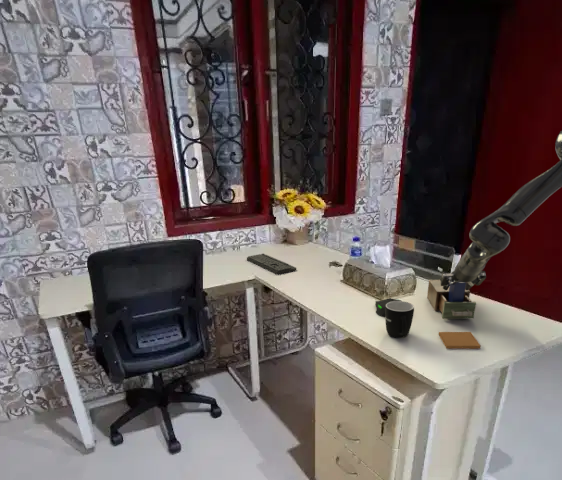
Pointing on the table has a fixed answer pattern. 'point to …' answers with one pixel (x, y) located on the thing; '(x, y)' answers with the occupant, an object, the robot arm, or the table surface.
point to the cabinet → (437, 293)
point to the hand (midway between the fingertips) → (455, 287)
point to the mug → (398, 318)
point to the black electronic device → (383, 306)
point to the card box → (456, 292)
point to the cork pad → (459, 340)
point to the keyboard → (271, 264)
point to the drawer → (456, 307)
